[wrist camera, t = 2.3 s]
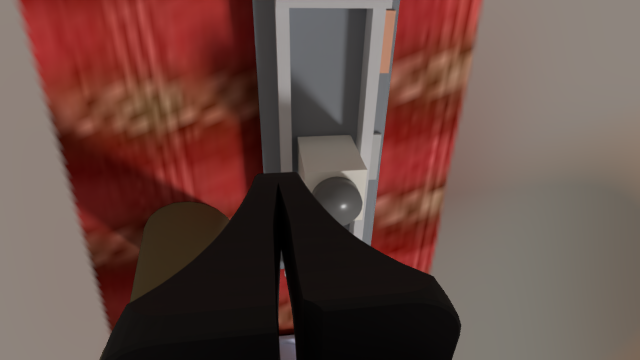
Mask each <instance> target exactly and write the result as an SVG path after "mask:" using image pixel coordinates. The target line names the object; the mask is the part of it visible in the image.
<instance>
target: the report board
mask: <svg viewBox="0 0 640 360" xmlns="http://www.w3.org/2000/svg"><path fill="white" fill-rule="evenodd" d="M252 1H253V17H254V32H255V48H256V63H257V79H258V94H259V110H260V125H261V141H262V156H263V172H264V173H281V172H297V173H298V137H308V136H335V135H351V137H352V139H353V141H354V143H355V146H356V148H357V150H358V152H359V154H360V156H361V158H362V160H363V162H364V164H365V166H366V168H367V178H366V188H365V198H364V208H363V218H362V220H354V221H352V222H351V223H349V224H347V225H344V226H343V227H344V228H346V229H347V230H348V231H349V232H351V233H352V234H353V235H355V236H356V237H357V238H359V239H360V240H362V241H363V242H365V243H366V244H368V245H371V237H372V229H373V220H374V212H375V204H376V195H377V187H378V179H379V170H380V162H381V154H382V145H383V137H384V129H385V120H386V112H387V104H388V95H389V87H390V79H391V70H392V62H393V54H394V45H395V37H396V29H397V20H398V12H399V4H400V0H252ZM280 269H284V263H283V257H282V251H281V263H280ZM285 276H286V274H285Z"/></svg>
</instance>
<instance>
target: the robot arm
mask: <svg viewBox="0 0 640 360" xmlns="http://www.w3.org/2000/svg"><path fill="white" fill-rule="evenodd" d="M281 251H282V257H283V263H284V268H285V274H286V279H287V285H288V290H289V296H290V301H291V307H292V315H293V324H294V335H288V336H279V323H278V305H279V284H280V263H281ZM460 330H461V323H460V320H459V316H458V314H457V312H456V310H455V308H454V307H453V305H452V303H451V301H450V300H449V298H448V296H447V295H446V294H445V292H444V290H443V289H442V288H441V286H440V285H439V284H438V282H437V281H436V279H435V278H434V277H433V276H431V275H429V274H426V273H424V272H422V271H419V270H417V269H414V268H412V267H410V266H407V265H405V264H402V263H400V262H398V261H396V260H394V259H393V258H391V257H389V256H387V255H385V254H383V253H381V252H379V251H378V250H376V249H374V248H373V247H371V246H370V245H368V244H366V243H365V242H363V241H362V240H360V239H359V238H357V237H356V236H355V235H353V234H352V233H351V232H349V231H348V230H347V229H346V228H344V227H343V226H342V225H341V224H340V223H339V222H338V221H337V220H336V219H335V218H334V217H333V216H332V215H331V214H330V213H329V212H328V211H327V210H326V209H325V208H324V207H323V206H322V205H321V204H320V203H319V201H318V200H317V199H316V198H315V197H314V195H313V194H312V193H311V192H310V190H309V189H308V188H307V186H306V185H305V183H304V182H303V180H302V179H301V177H300V175H299V174H298V173H297V172H281V173H261V174H257V175H256V176H255V178H254V181H253V183H252V185H251V188H250V190H249V191H248V193H247V195H246V197H245V199H244V200H243V202H242V204H241V205H240V207H239V208H238V210H237V211H236V213H235V214H234V216H233V217H232V218H231V220H230V221H229V222H228V224H227V225H226V226H225V228H224V229H223V230H222V231H221V232H220V234H219V235H218V236H217V237H216V238H215V239H214V240H213V241H212V242H211V243H210V245H209V246H207V247H206V248H205V249H204V250H203V251H202V252H201V253H200V254H199V255H198V256H197V257H196V258H195V259H194V260H193V261H191V262H190V263H189V264H188V265H186V266H185V267H184V268H183V269H181V270H180V271H179V272H177V273H176V274H175V275H173V276H172V277H170V278H169V279H168V280H166V281H165V282H163V283H162V284H160V285H159V286H157V287H155V288H154V289H152V290H150V291H149V292H147V293H146V294H144V295H142V296H141V297H139V298H137V299H136V300H134V301H132V302H131V303H129V304H127V305H126V307H125V309H124V311H123V312H122V314H121V316H120V318H119V320H118V321H117V323H116V325H115V327H114V329H113V331H112V333H111V335H110V337H109V339H108V342H107V345H106V347H105V350H104V352H103V355H102V357H101V360H452V357H453V354H454V351H455V348H456V345H457V342H458V339H459V336H460Z"/></svg>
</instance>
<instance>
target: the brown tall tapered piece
mask: <svg viewBox="0 0 640 360" xmlns="http://www.w3.org/2000/svg"><path fill="white" fill-rule="evenodd" d="M229 221H230V220H229V219H228V218H227V217H226V216H225V215H224V214H222V213H221V212H220V211H219V210H217V209H215V208H213V207H210V206H208V205H205V204H202V203H195V202H179V203H172V204H170V205H167V206H165V207H162V208H160V209H159V210H157V211H156V212H155V213H154V214H152V215H151V216H150V217H149V219H148V221H147V223H146V225H145V227H144V231H143V236H142V242H141V247H140V252H139V257H138V262H137V268H136V273H135V278H134V283H133V288H132V294H131V299H130V303H131V302H132V301H134V300H136V299H137V298H139V297H141V296H142V295H144V294H146V293H147V292H149V291H150V290H152V289H154V288H155V287H157V286H159V285H160V284H162V283H163V282H165V281H166V280H168V279H169V278H170V277H172V276H173V275H175V274H176V273H177V272H179V271H180V270H181V269H183V268H184V267H185V266H186V265H188V264H189V263H190V262H191V261H193V260H194V259H195V258H196V257H197V256H198V255H199V254H200V253H201V252H202V251H203V250H204V249H205V248H206V247H207V246H209V245H210V243H211V242H212V241H213V240H214V239H215V238H216V237H217V236H218V235H219V234H220V232H221V231H222V230H223V229H224V228H225V226H226V225H227V224H228V222H229ZM104 350H105V348H104ZM104 350H103V352H104ZM103 352H102V355H103ZM102 355H101V357H102ZM101 357H100V360H101Z"/></svg>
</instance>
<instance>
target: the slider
mask: <svg viewBox="0 0 640 360" xmlns="http://www.w3.org/2000/svg"><path fill="white" fill-rule="evenodd" d="M298 174H299V175H300V177H301V179H302V180H303V182H304V183H305V185H306V186H307V188H308V189H309V190H310V192H311V193H312V194H313V195H314V197H315V198H316V199H317V200H318V201H319V203H320V204H321V205H322V206H323V207H324V208H325V209H326V210H327V211H328V212H329V213H330V214H331V215H332V216H333V217H334V218H335V219H336V220H337V221H338V222H339V223H340V224H341V225H342V226H344V225H347V224H349V223H351V222H352V221H354V220H362V218H363V208H364V198H365V188H366V178H367V168H366V166H365V164H364V162H363V160H362V158H361V156H360V154H359V152H358V150H357V148H356V146H355V143H354V141H353V139H352V137H351V135H335V136H308V137H298Z"/></svg>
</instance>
